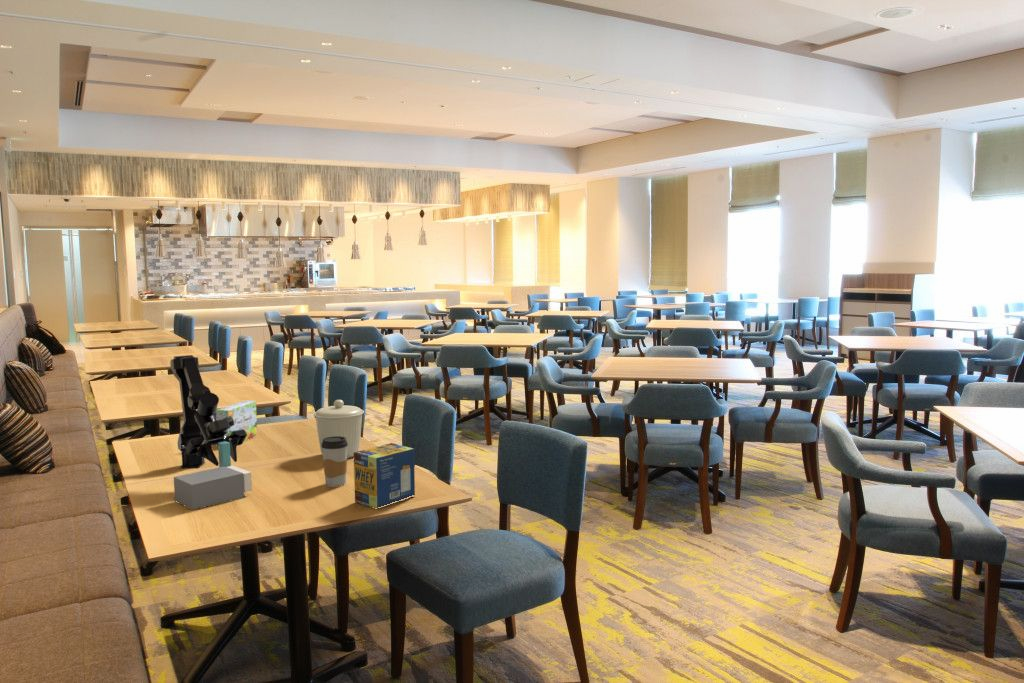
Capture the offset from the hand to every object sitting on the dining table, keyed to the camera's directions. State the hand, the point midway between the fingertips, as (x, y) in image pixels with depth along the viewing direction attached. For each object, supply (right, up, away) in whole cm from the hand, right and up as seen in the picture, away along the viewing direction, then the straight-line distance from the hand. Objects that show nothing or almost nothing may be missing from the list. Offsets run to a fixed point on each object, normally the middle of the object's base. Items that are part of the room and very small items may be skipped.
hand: (227, 463), depth 245 cm
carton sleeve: (-1, -9, -11) cm, 14 cm away
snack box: (-19, -2, +63) cm, 65 cm away
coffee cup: (+34, -8, +4) cm, 35 cm away
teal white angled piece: (-1, -7, -8) cm, 11 cm away
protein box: (+52, -9, -12) cm, 55 cm away
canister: (+27, -4, +40) cm, 48 cm away
